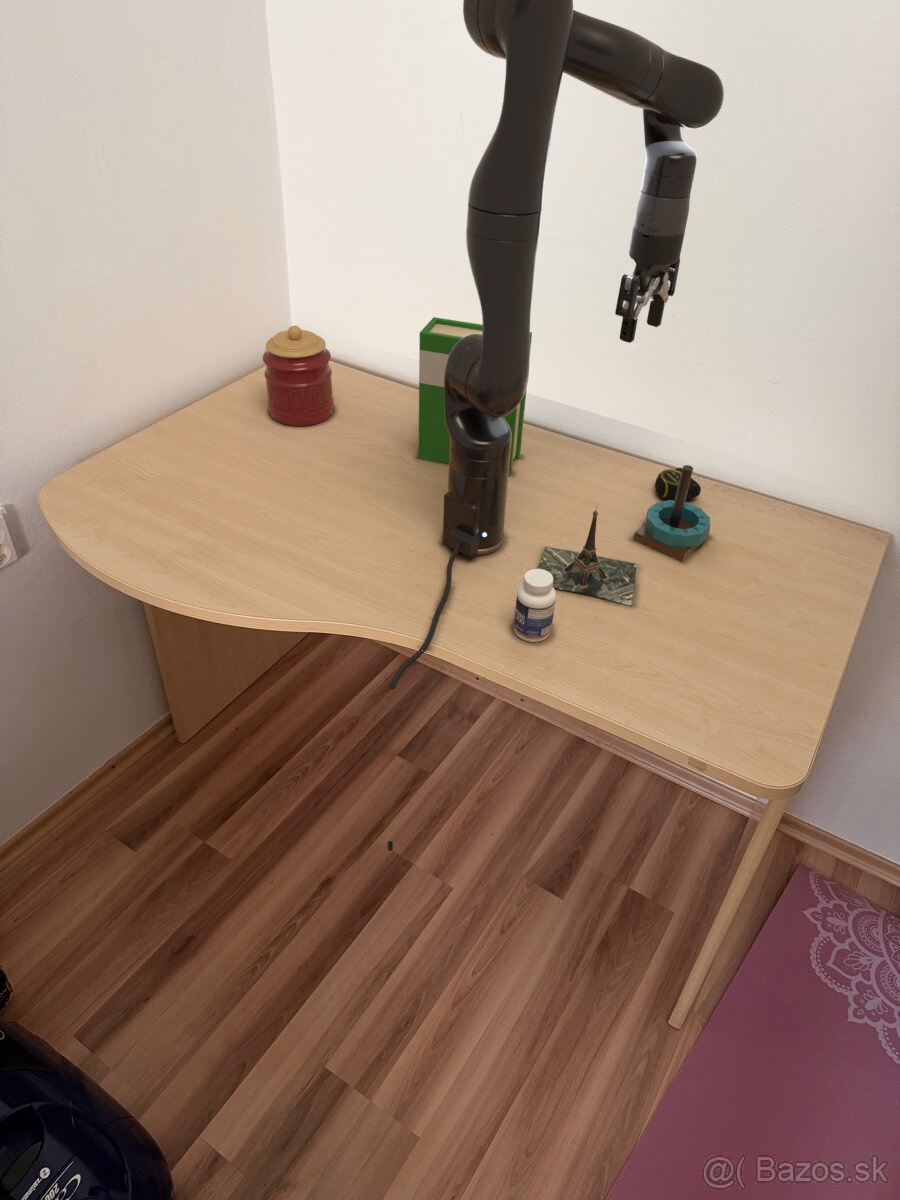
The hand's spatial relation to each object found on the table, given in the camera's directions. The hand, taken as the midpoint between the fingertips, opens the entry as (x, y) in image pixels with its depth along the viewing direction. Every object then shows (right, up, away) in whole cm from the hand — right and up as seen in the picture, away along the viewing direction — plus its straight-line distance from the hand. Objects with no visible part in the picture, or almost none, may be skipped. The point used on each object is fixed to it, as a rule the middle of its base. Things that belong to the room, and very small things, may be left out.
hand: (640, 333), depth 133 cm
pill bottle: (-18, -47, -13) cm, 52 cm away
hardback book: (-27, -16, +24) cm, 39 cm away
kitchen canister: (-60, -5, +36) cm, 70 cm away
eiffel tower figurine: (-9, -39, -3) cm, 40 cm away
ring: (+7, -31, +5) cm, 32 cm away
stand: (+6, -32, +6) cm, 33 cm away
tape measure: (+10, -24, +16) cm, 30 cm away
